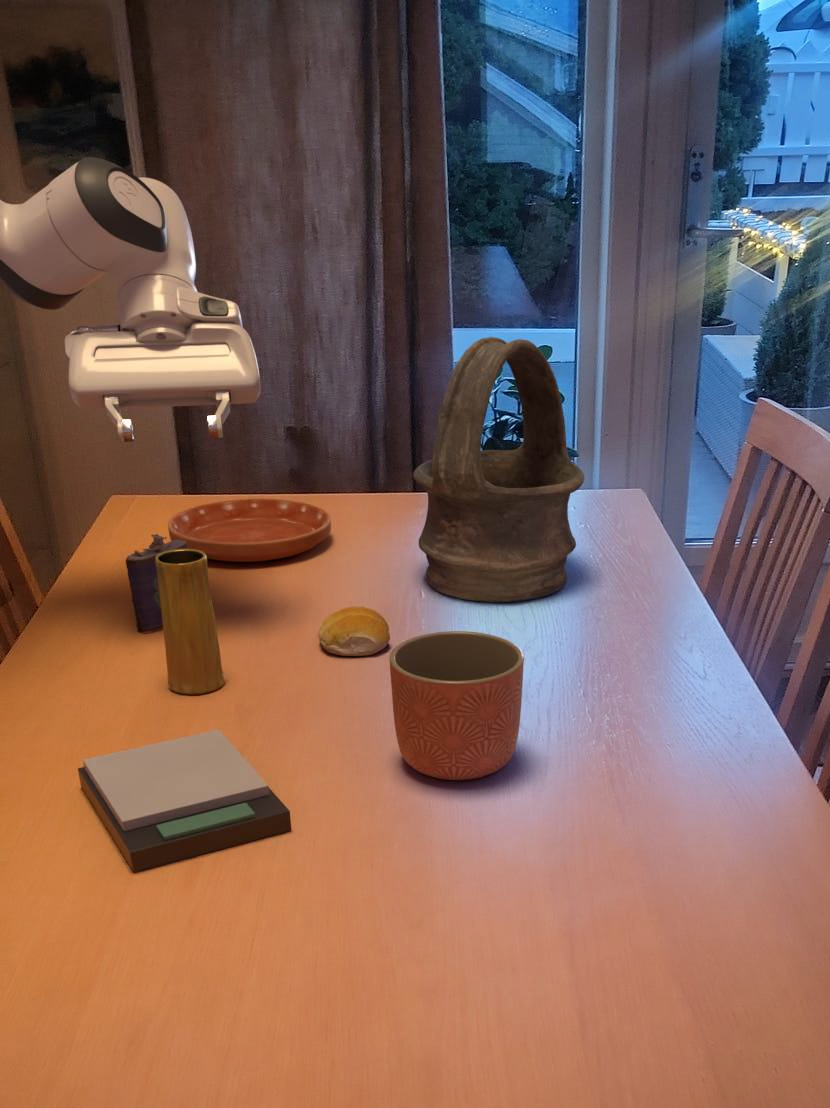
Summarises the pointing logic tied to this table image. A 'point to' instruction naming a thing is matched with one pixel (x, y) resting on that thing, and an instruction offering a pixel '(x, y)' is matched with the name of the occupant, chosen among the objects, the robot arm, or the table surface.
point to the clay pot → (499, 484)
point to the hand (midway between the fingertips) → (171, 436)
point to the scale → (181, 799)
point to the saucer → (251, 528)
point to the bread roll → (354, 632)
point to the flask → (148, 583)
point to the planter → (457, 702)
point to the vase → (188, 622)
